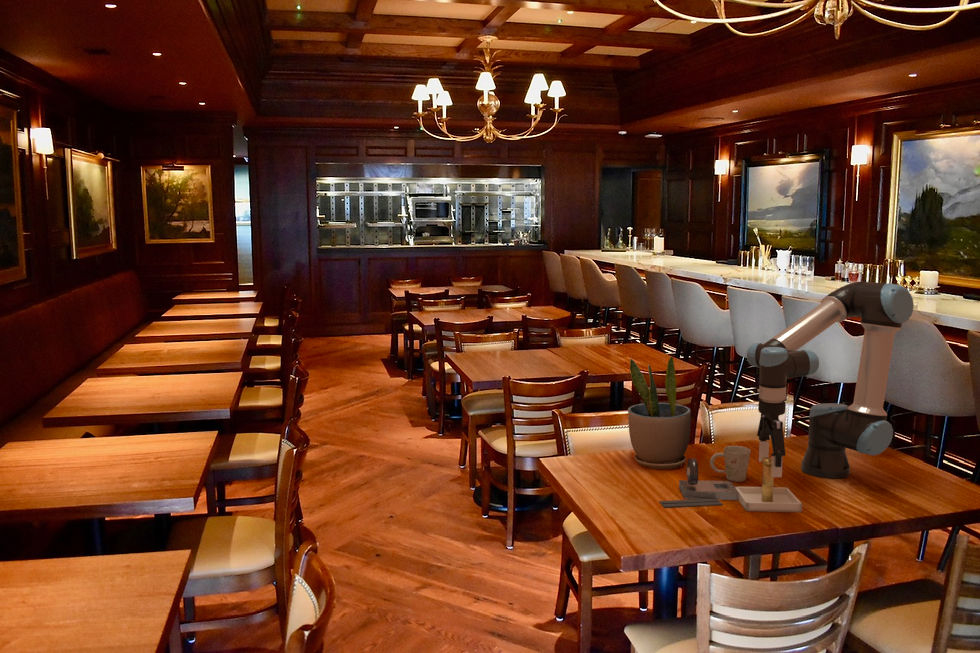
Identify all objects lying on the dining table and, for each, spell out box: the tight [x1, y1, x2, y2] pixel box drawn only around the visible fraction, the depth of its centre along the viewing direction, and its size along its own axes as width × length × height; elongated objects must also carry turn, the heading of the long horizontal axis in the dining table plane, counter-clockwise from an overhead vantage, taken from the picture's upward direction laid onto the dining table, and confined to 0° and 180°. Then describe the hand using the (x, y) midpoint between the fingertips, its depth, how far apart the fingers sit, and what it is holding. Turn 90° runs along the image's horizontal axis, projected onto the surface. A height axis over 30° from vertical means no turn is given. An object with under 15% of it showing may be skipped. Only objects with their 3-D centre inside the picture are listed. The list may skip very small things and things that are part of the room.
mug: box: [709, 445, 751, 483], centre depth 260 cm, size 8×13×10 cm, turn 78°
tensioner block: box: [678, 458, 739, 501], centre depth 245 cm, size 16×10×11 cm, turn 87°
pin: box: [761, 456, 775, 502], centre depth 237 cm, size 4×4×13 cm
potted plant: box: [627, 355, 692, 470], centre depth 274 cm, size 21×22×40 cm
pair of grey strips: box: [658, 499, 723, 509], centre depth 238 cm, size 18×5×1 cm, turn 97°
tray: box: [735, 486, 803, 513], centre depth 238 cm, size 16×14×2 cm
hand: (769, 469), depth 237 cm, fingers open, 13 cm apart
